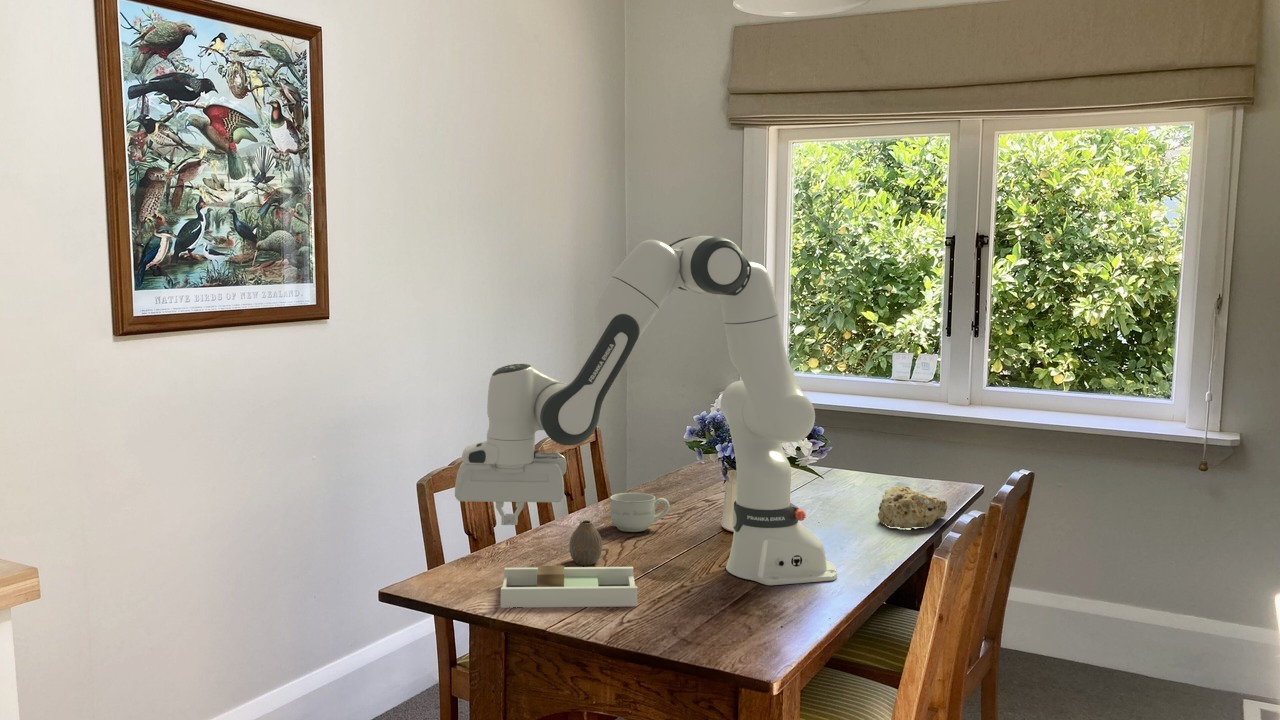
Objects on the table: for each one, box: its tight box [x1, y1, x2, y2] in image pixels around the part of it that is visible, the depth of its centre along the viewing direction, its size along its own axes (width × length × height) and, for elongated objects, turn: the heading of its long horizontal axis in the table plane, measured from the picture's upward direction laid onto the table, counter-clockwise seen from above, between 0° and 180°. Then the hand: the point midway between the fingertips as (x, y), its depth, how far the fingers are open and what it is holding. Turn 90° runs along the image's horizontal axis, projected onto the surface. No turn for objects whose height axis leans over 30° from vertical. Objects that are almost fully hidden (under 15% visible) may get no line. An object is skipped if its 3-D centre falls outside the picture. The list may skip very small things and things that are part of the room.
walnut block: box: [537, 565, 565, 587], centre depth 184 cm, size 5×5×3 cm
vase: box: [568, 520, 603, 566], centre depth 204 cm, size 7×7×9 cm
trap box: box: [500, 566, 639, 609], centre depth 184 cm, size 25×12×4 cm, turn 94°
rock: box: [877, 485, 948, 530], centre depth 240 cm, size 21×14×10 cm
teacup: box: [609, 492, 671, 533], centre depth 228 cm, size 14×11×8 cm
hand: (509, 524), depth 182 cm, fingers closed
